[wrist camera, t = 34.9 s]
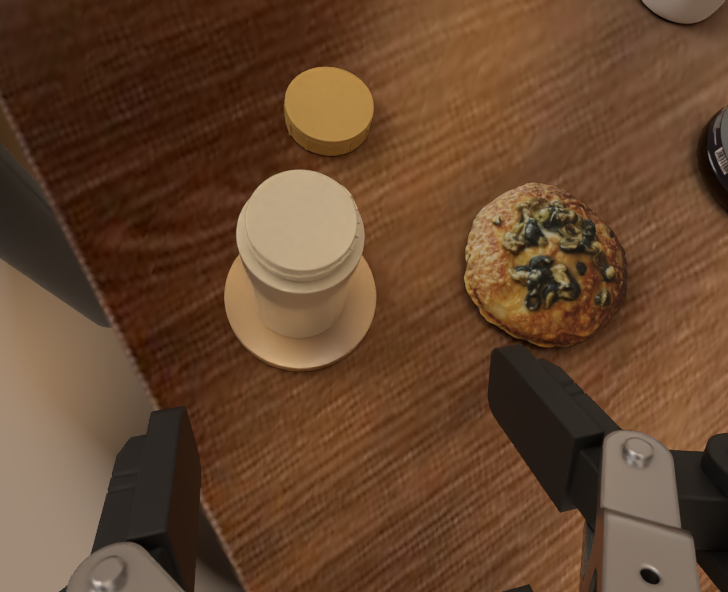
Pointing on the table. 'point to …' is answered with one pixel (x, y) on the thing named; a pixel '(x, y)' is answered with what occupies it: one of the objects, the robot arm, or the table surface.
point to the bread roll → (544, 266)
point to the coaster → (301, 350)
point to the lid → (328, 111)
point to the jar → (300, 251)
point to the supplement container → (715, 155)
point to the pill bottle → (684, 9)
